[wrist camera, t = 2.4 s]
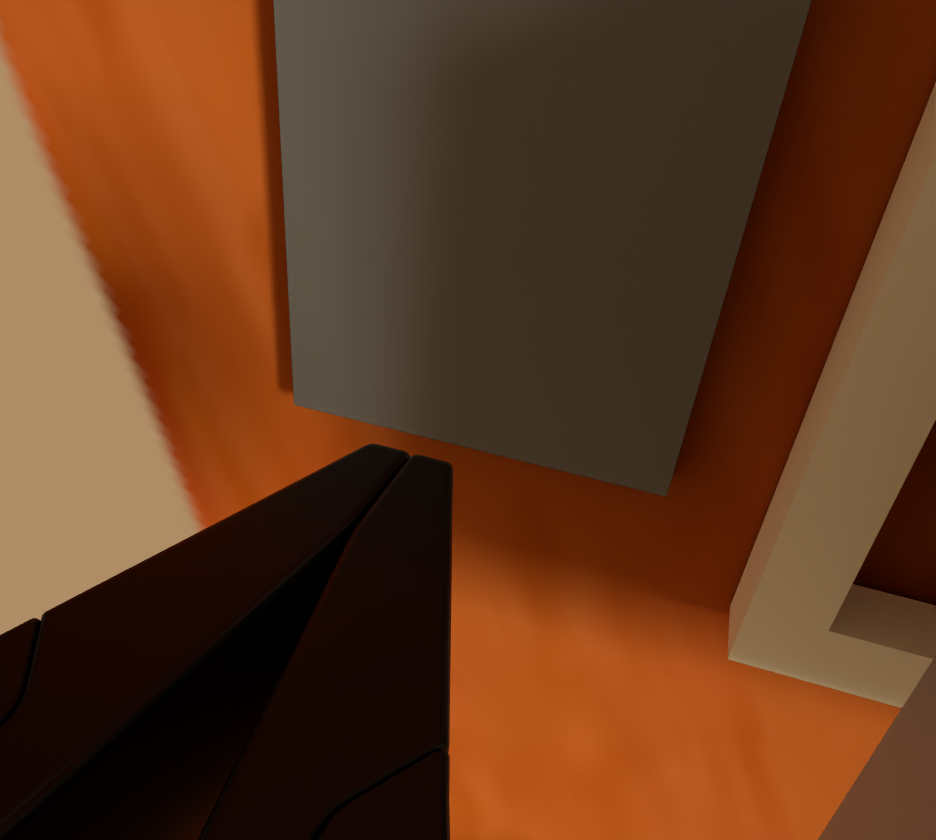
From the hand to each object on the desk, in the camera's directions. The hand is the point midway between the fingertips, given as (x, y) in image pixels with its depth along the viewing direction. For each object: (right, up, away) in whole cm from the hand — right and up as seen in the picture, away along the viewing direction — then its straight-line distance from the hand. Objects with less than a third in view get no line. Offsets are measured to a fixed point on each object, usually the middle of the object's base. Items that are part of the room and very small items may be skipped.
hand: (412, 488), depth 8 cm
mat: (+1, +4, +6) cm, 8 cm away
